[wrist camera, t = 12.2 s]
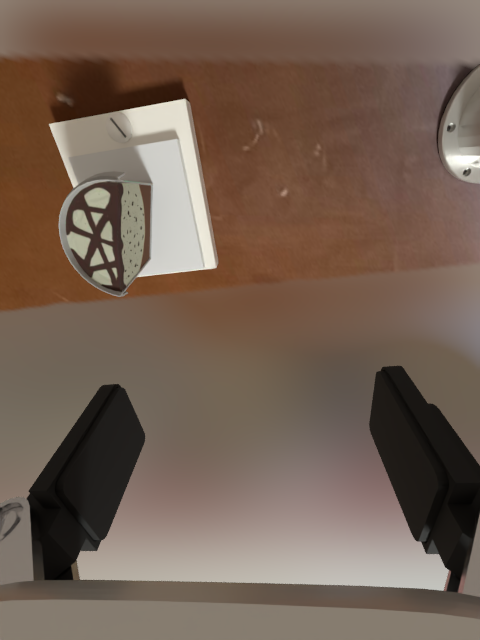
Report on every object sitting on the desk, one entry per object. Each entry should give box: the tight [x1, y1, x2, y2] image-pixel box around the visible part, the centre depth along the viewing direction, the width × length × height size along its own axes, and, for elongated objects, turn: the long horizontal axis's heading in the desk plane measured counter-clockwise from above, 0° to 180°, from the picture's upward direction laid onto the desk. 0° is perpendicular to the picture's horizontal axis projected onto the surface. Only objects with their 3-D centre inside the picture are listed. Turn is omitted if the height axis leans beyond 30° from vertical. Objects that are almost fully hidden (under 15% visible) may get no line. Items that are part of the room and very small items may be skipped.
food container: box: [59, 171, 153, 297], centre depth 31 cm, size 12×6×10 cm, turn 169°
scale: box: [49, 99, 218, 277], centre depth 36 cm, size 16×19×4 cm
